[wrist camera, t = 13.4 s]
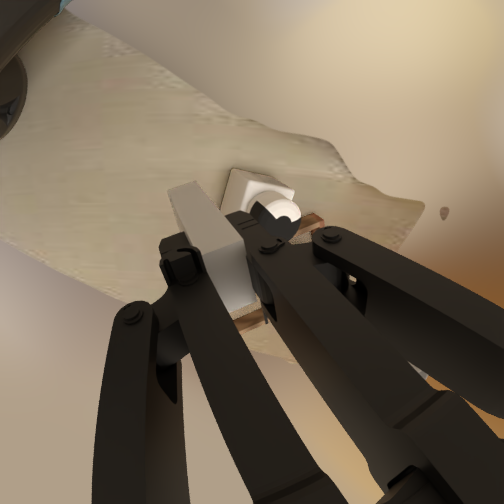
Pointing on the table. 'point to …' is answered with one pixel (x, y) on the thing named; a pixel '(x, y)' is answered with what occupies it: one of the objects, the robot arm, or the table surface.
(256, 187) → the container
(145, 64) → the table surface
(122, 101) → the table surface
